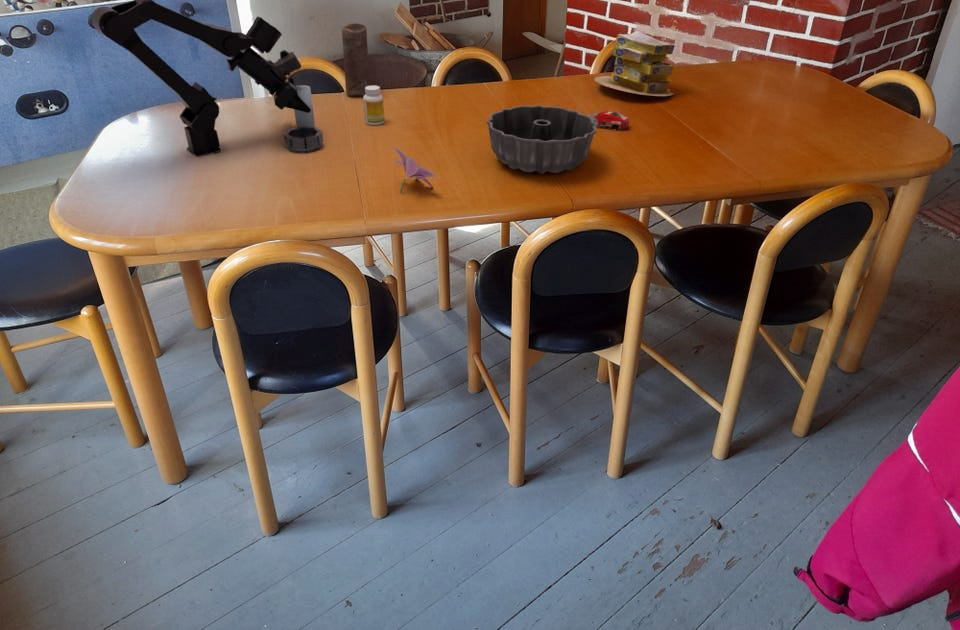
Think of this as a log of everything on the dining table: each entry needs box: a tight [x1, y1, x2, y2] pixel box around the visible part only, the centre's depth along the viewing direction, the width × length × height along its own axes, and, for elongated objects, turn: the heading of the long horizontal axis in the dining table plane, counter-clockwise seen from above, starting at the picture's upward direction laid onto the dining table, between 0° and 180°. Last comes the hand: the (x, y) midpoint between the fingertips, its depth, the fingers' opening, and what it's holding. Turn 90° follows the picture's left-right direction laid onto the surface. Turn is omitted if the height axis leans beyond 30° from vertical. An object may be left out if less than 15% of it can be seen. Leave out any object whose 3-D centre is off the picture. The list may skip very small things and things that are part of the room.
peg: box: [293, 84, 316, 128], centre depth 182 cm, size 5×5×12 cm
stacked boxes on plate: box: [593, 29, 676, 97], centre depth 215 cm, size 25×25×17 cm
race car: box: [585, 110, 629, 131], centre depth 192 cm, size 13×5×4 cm, turn 67°
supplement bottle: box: [362, 85, 385, 126], centre depth 191 cm, size 5×5×10 cm
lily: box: [391, 145, 437, 194], centre depth 155 cm, size 12×12×10 cm
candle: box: [341, 22, 371, 97], centre depth 208 cm, size 8×7×20 cm
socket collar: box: [282, 126, 324, 154], centre depth 177 cm, size 9×9×4 cm
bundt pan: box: [486, 104, 598, 175], centre depth 169 cm, size 26×26×10 cm
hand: (308, 108), depth 182 cm, fingers closed on peg, 5 cm apart
